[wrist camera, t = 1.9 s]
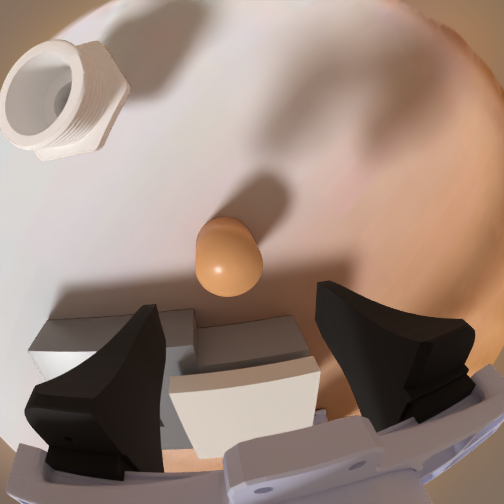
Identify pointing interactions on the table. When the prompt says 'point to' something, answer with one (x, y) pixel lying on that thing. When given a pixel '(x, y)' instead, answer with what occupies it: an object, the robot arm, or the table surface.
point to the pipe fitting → (62, 99)
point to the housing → (173, 351)
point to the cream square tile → (245, 403)
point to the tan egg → (227, 257)
